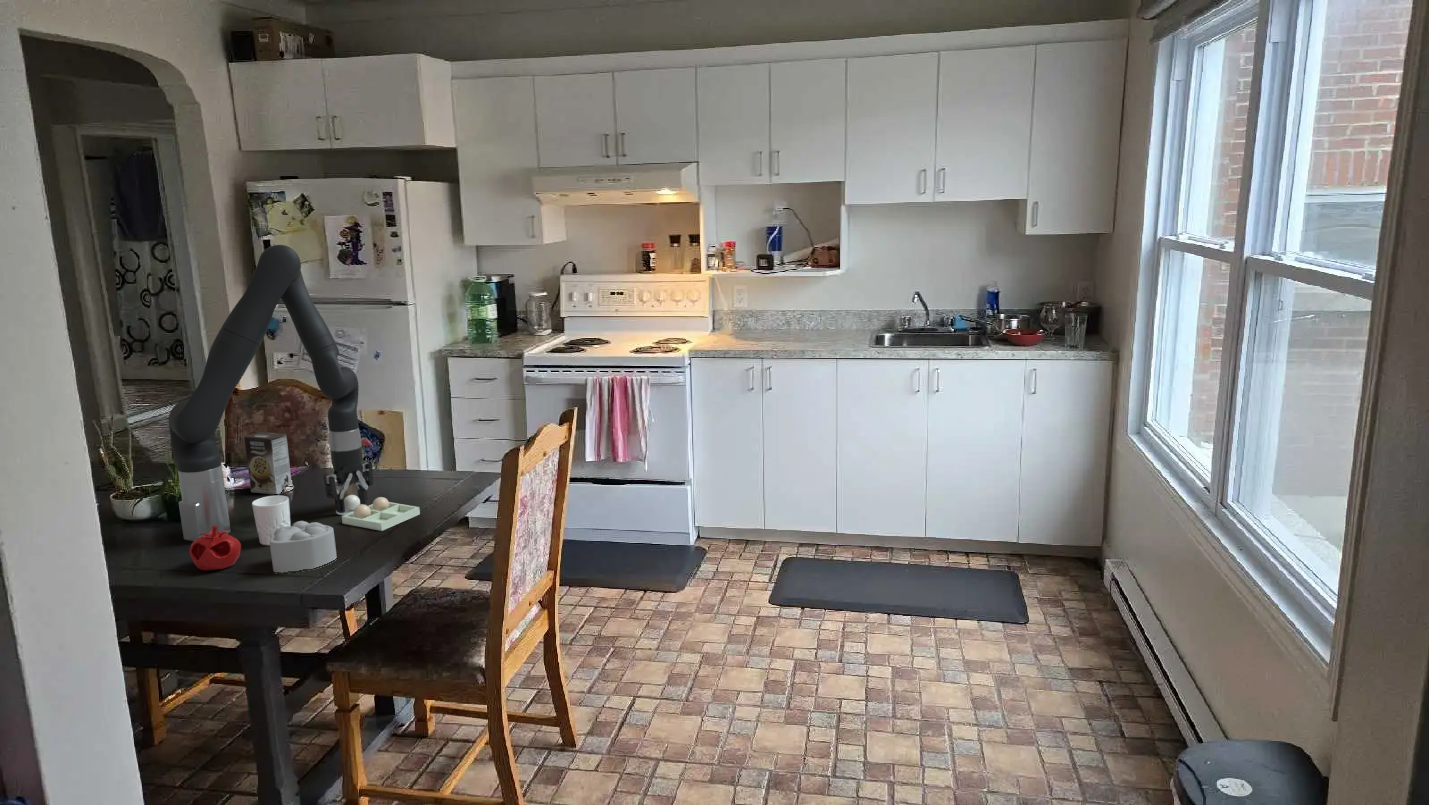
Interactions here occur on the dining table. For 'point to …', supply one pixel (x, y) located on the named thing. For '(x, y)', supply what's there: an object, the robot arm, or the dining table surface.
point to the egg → (351, 502)
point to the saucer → (345, 512)
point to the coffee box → (268, 462)
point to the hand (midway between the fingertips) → (352, 507)
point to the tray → (380, 514)
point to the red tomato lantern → (215, 550)
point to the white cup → (270, 515)
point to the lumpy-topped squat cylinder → (302, 546)
